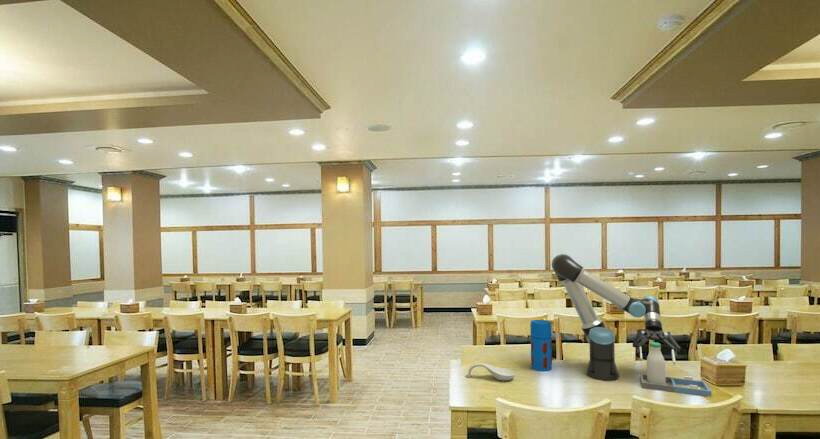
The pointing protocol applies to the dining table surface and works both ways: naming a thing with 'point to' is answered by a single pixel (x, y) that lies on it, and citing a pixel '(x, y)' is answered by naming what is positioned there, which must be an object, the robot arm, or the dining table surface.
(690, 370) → the dining table surface
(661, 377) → the milk bottle
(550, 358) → the thermos
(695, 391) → the bay frame
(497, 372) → the spoon rest
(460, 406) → the dining table surface
